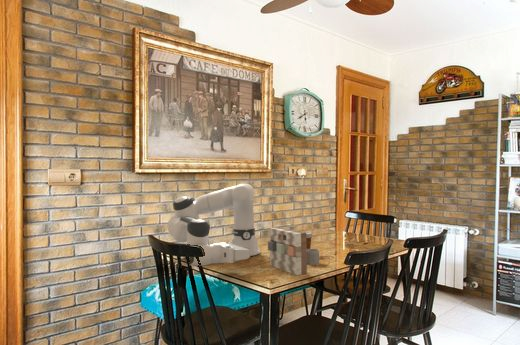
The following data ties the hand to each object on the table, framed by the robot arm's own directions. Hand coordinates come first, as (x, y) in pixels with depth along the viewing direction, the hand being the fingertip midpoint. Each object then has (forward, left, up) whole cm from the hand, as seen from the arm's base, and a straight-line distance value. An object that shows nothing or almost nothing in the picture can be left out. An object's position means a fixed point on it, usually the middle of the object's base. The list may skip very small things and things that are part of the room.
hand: (249, 249), depth 181 cm
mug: (-4, +31, -10) cm, 33 cm away
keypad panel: (+3, +17, -10) cm, 20 cm away
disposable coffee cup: (-24, +36, -10) cm, 45 cm away
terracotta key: (+11, +18, -2) cm, 21 cm away
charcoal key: (-3, +13, -2) cm, 13 cm away
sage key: (+4, +14, -2) cm, 15 cm away
